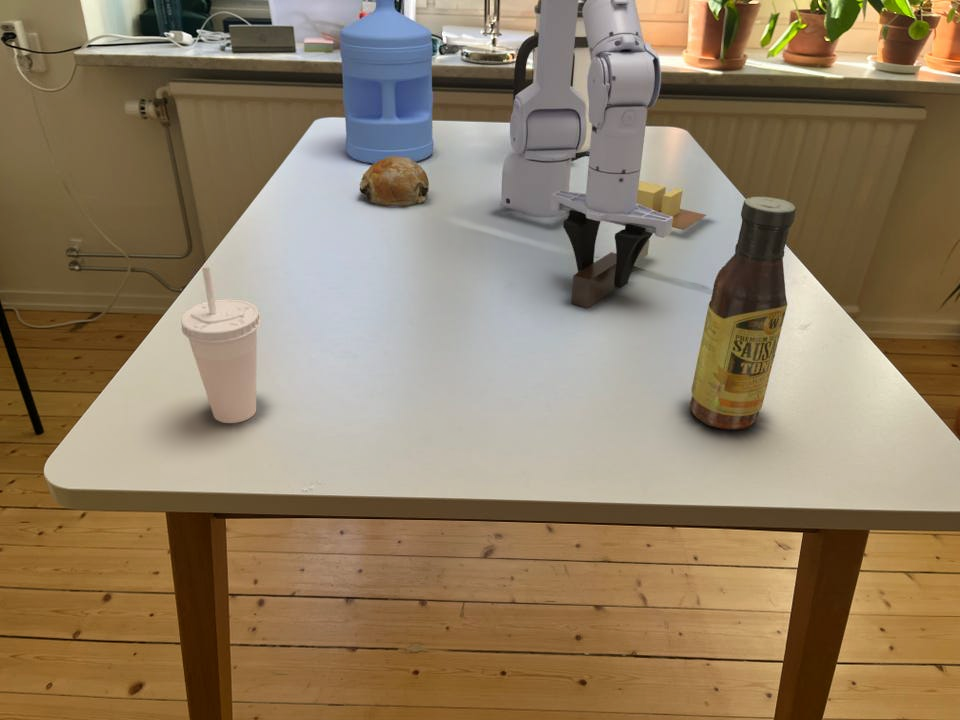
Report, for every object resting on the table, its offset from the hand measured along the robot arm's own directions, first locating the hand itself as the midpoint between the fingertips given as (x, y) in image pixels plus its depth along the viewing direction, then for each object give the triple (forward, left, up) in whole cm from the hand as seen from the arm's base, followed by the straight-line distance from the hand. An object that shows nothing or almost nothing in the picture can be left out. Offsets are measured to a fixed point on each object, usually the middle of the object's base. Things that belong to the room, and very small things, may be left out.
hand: (602, 279), depth 97 cm
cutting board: (-7, +27, -1) cm, 28 cm away
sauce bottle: (+22, -17, -2) cm, 28 cm away
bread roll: (-42, +10, -2) cm, 43 cm away
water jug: (-59, +28, -2) cm, 65 cm away
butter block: (-10, +27, 0) cm, 29 cm away
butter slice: (-4, +27, 0) cm, 27 cm away
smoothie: (-13, -44, -2) cm, 46 cm away
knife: (0, +3, -1) cm, 3 cm away
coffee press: (-35, +47, -2) cm, 59 cm away
